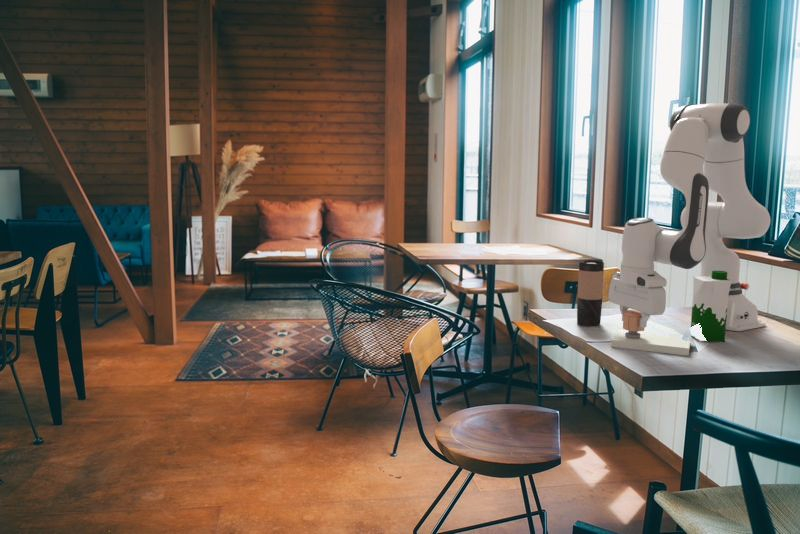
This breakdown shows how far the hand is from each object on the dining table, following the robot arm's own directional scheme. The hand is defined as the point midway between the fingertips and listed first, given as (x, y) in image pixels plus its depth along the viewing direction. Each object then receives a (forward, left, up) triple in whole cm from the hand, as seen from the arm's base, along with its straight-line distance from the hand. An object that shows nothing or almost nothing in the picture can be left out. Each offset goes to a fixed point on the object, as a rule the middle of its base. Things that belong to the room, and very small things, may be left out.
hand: (634, 324), depth 192 cm
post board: (-3, +3, -6) cm, 8 cm away
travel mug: (-2, -25, -6) cm, 25 cm away
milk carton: (-24, +2, -6) cm, 25 cm away
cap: (0, 0, -1) cm, 1 cm away
